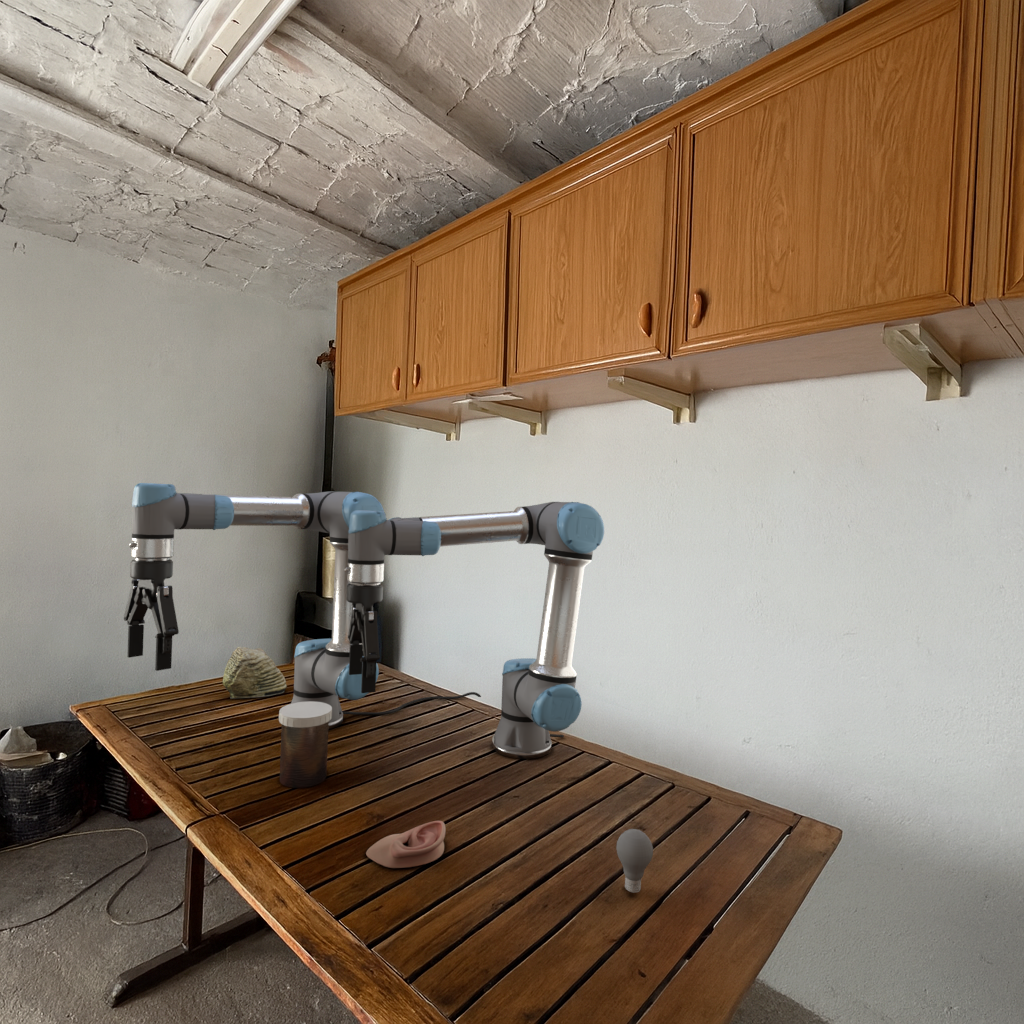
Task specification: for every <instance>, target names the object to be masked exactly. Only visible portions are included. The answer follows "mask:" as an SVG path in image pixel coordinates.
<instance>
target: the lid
mask: <svg viewBox="0 0 1024 1024" xmlns="http://www.w3.org/2000/svg"><path fill="white" fill-rule="evenodd" d="M331 718H332V707H331V706H330V705H329V704H326V703H323V702H314V701H307V702H297V703H292V704H291V703H289V704H287V705H284V706H282V707H281V708H279V711H278V723H279V724H281V726H282V725H285V726H289V727H296V728H304V727H314V726H318V725H322V724H325V723H327V722H328V721H330V720H331Z"/></svg>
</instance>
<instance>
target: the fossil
mask: <svg viewBox="0 0 1024 1024" xmlns="http://www.w3.org/2000/svg"><path fill="white" fill-rule="evenodd" d="M222 676H223V677H222V685H223V687H224V688H225V690H226V691H228V693H229V698H230V699H250V698H264V697H271V696H275V695H281V694H284V693H285V691H286V689H287V687H288V686H287V680H286V678H285V676H284V674H283V673H282V672H281V669H279V668H278V667H277V665H276V663H275V662H274V660H273V659H272V658H271V657H270V656H269V655H268V654H267V653H266V652H265V650H264V649H263V648H260V647H258V648H251V647H247V646H246V647H245V646H238V647H237V648H236V649H235V650H233V651H232V653H231V656H230V657H229V659H228V660H227V663H226V666H225V668H224V671H223V675H222Z"/></svg>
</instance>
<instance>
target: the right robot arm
mask: <svg viewBox="0 0 1024 1024" xmlns="http://www.w3.org/2000/svg"><path fill="white" fill-rule="evenodd" d="M348 533H349V536H348V567H347V568H345V572H348V575H347V580H348V581H349V582H350V583H349V584H348V585H347V595H346V600H347V601H348V602H350V603H352V613H351V620H350V627H349V634H348V639H350V640H349V642H350V644H352V645H350V657H349V675H356V674H362V685H361V693H368V694H370V693H376V689H377V687H376V686H377V685H376V683H377V681H376V663H377V661H378V660H380V656H381V655H380V643H379V630H378V628H379V627H378V613H379V612H378V611H377V610H374V607H373V606H374V605H375V604H379V603H381V602H382V601H383V599H384V598H383V597H384V585H383V584H382V583H383V582H384V581H385V580H384V578H385V556H421V557H424V556H425V557H426V556H434V555H437V554H438V552H439V551H440V548H441V547H452V546H453V547H454V546H465V545H477V544H479V545H480V544H490V543H491V544H492V543H505V542H517V543H518V544H519V545H526V544H527V545H530V544H532V545H540V546H544V551H543V552H544V553H543V556H544V557H545V558H546V560H547V561H548V569H547V577H546V584H545V591H544V599H543V606H542V615H541V622H540V629H539V637H538V644H537V645H538V646H537V650H536V651H537V652H536V658H533V657H532V658H531V657H530V658H529V657H525V658H524V657H523V658H522V657H521V658H513V659H509V660H506V661H505V662H504V663H503V668H502V673H501V676H502V681H501V682H502V683H501V685H502V686H501V710H500V719H499V721H498V724H497V727H496V730H495V732H494V735H492V739H491V740H492V741H491V742H492V747H493V748H492V749H493V750H494V751H495V752H496V753H498V754H499V755H502V756H505V757H508V758H512V759H520V760H531V759H539V758H543V757H545V756H547V755H549V754H550V753H551V751H552V739H551V738H564V737H565V735H564V734H555V733H556V732H562V731H564V730H566V729H568V728H569V727H570V726H571V725H572V724H574V723H575V722H576V721H577V719H578V718H579V716H580V713H581V711H582V705H583V703H582V701H583V700H582V697H581V694H580V693H579V691H578V689H577V688H576V684H577V676H578V673H577V672H576V670H575V669H574V667H573V665H572V664H573V657H574V650H575V641H576V635H577V629H578V621H579V619H578V618H579V612H580V604H581V597H582V588H583V581H584V574H585V568H586V566H587V565H589V564H591V562H592V561H593V554H594V551H595V550H597V548H598V547H599V546H601V544H602V542H603V540H604V536H605V524H604V521H603V518H602V516H601V514H600V513H599V512H598V511H597V510H596V508H594V507H593V506H592V505H589V504H587V503H584V502H583V503H582V502H579V501H549V502H543V503H538V504H533V505H527V506H524V505H523V506H517V507H516V508H515V509H514V510H511V511H495V512H494V511H492V512H479V513H463V514H462V513H461V514H447V515H446V514H445V515H432V516H431V515H430V516H420V517H417V516H415V517H399V516H396V517H392V518H388V519H387V515H386V512H385V511H384V512H383V511H368V510H356V511H353V512H352V513H351V515H350V524H349V531H348ZM361 643H362V644H361ZM362 655H364V657H362ZM550 732H555V733H550Z"/></svg>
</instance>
